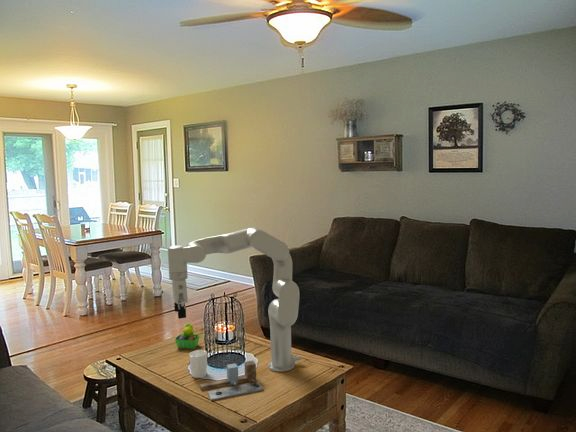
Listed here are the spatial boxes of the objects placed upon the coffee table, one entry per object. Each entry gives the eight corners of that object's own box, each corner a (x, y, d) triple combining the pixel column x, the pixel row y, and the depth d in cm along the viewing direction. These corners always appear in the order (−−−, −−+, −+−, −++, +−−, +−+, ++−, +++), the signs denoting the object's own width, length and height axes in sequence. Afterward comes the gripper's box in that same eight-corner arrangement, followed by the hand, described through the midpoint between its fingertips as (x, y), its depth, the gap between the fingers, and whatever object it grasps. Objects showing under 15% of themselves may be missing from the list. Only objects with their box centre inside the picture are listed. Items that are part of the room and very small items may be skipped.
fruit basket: (174, 348, 245) (173, 327, 244) (181, 342, 253) (180, 321, 252) (195, 349, 243) (194, 328, 242) (201, 343, 252) (200, 322, 250)
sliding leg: (235, 378, 209) (235, 363, 208) (240, 385, 202) (239, 369, 201) (227, 380, 207) (226, 364, 206) (230, 387, 201) (230, 370, 200)
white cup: (204, 379, 210) (203, 357, 209) (187, 377, 211) (186, 356, 210) (210, 371, 217) (209, 350, 216) (194, 370, 219) (193, 349, 218)
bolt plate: (258, 383, 205) (258, 381, 204) (263, 390, 198) (263, 388, 198) (207, 393, 197) (207, 391, 197) (211, 401, 190) (211, 398, 190)
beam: (253, 376, 211) (252, 360, 211) (258, 382, 205) (257, 366, 204) (199, 386, 203) (198, 369, 202) (202, 393, 197) (201, 376, 196)
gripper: (191, 278, 193) (192, 319, 195) (183, 269, 209) (185, 307, 211) (172, 280, 190) (174, 322, 192) (166, 271, 206) (168, 310, 208)
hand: (180, 314), depth 201 cm, fingers open, 9 cm apart
